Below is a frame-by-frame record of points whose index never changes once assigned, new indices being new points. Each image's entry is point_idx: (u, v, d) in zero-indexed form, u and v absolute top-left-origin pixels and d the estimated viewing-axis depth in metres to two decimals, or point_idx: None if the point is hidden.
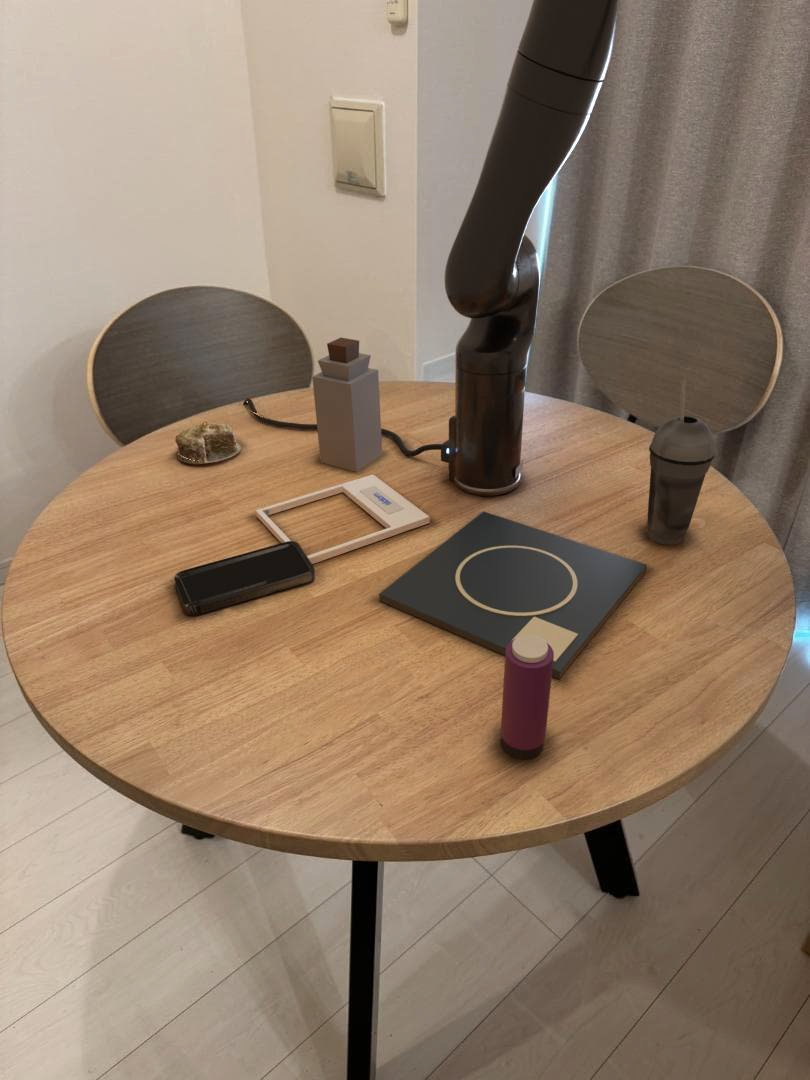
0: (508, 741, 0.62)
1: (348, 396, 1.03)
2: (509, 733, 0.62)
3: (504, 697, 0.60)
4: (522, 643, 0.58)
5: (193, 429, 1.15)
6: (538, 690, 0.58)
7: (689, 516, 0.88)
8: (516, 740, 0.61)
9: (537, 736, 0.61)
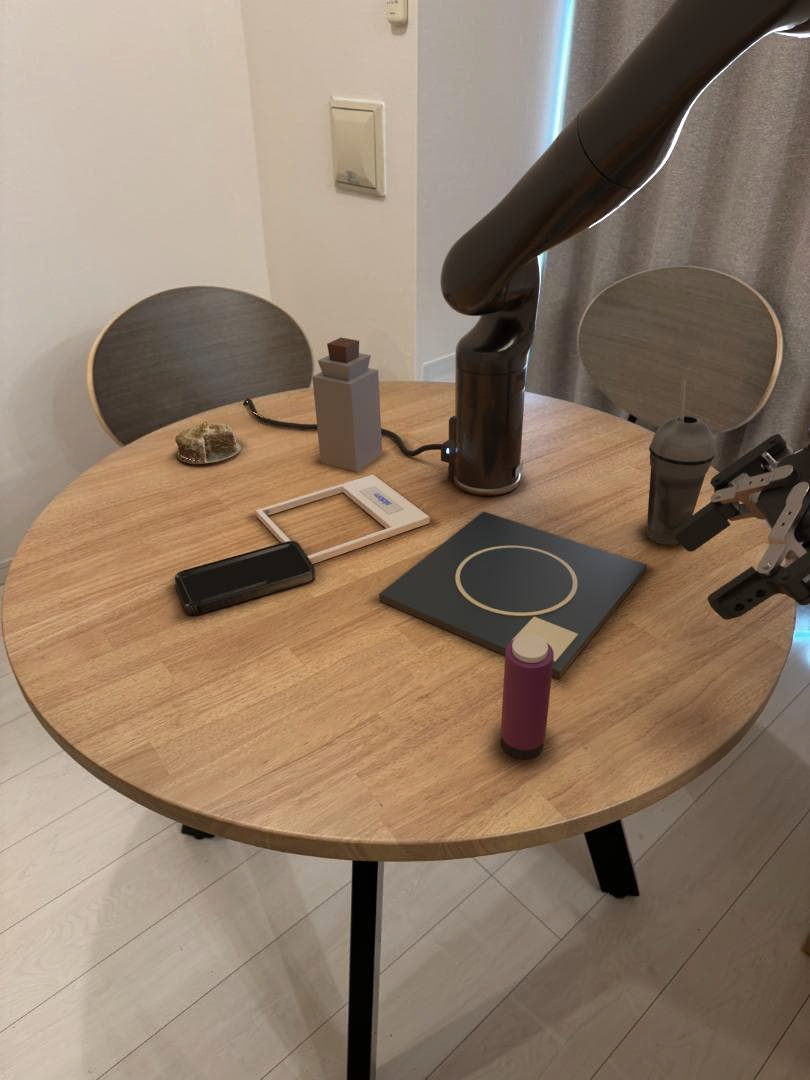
0: (508, 741, 0.62)
1: (348, 396, 1.03)
2: (509, 733, 0.62)
3: (504, 697, 0.60)
4: (522, 643, 0.58)
5: (193, 429, 1.15)
6: (538, 690, 0.58)
7: (689, 516, 0.88)
8: (516, 740, 0.61)
9: (537, 736, 0.61)
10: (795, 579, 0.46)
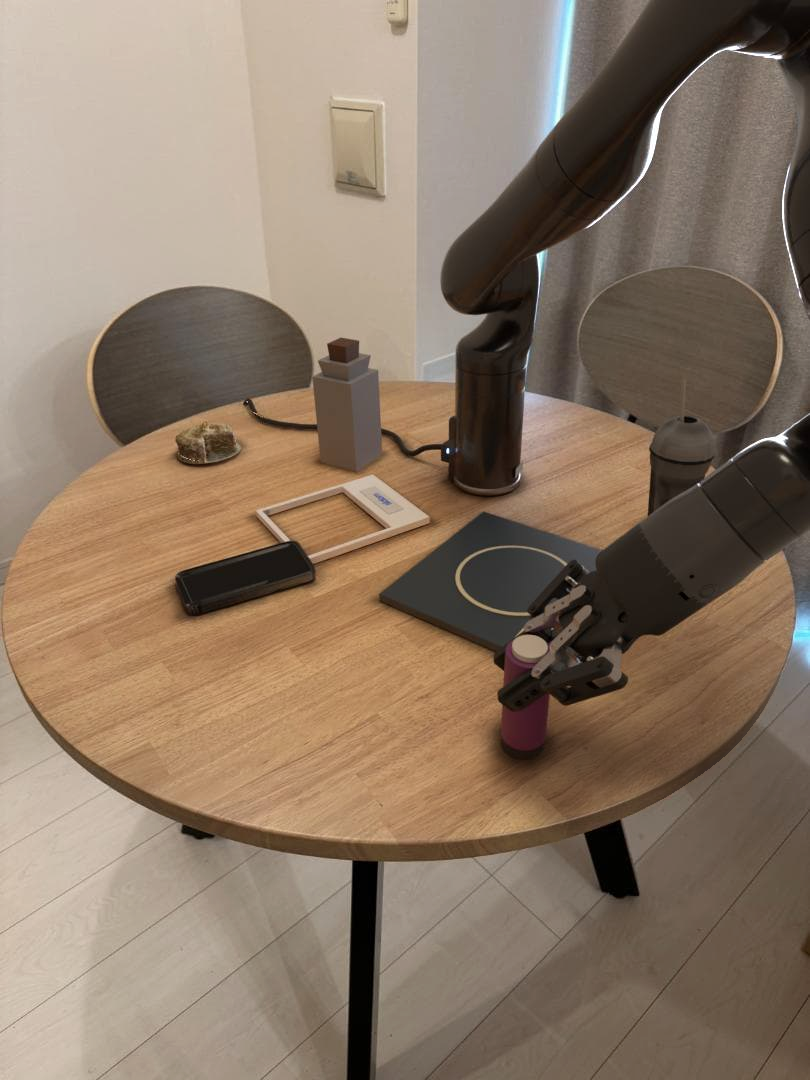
0: (508, 741, 0.62)
1: (348, 396, 1.03)
2: (509, 733, 0.61)
3: None
4: (522, 643, 0.58)
5: (193, 429, 1.15)
6: None
7: None
8: (516, 740, 0.61)
9: (537, 736, 0.61)
10: (550, 688, 0.54)
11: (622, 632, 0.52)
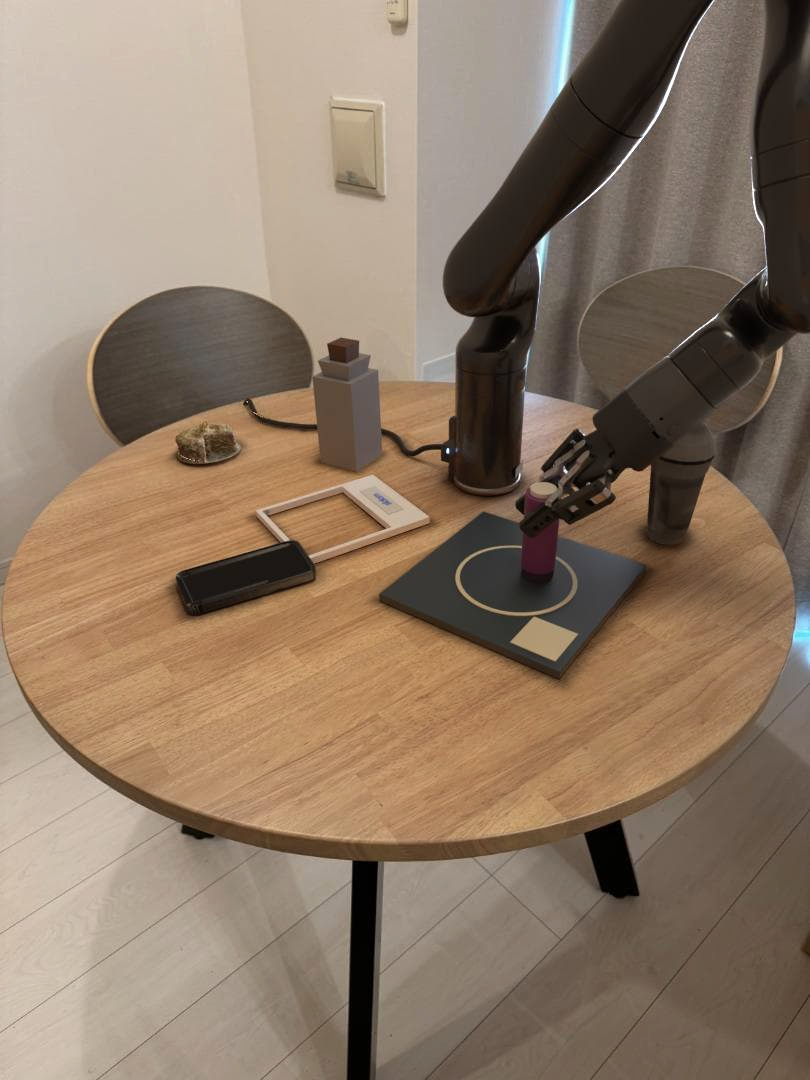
0: (527, 568, 0.82)
1: (348, 395, 1.03)
2: (528, 561, 0.81)
3: None
4: (537, 486, 0.78)
5: (193, 429, 1.15)
6: None
7: (689, 516, 0.88)
8: (533, 566, 0.81)
9: (549, 562, 0.81)
10: (559, 509, 0.73)
11: (612, 465, 0.72)
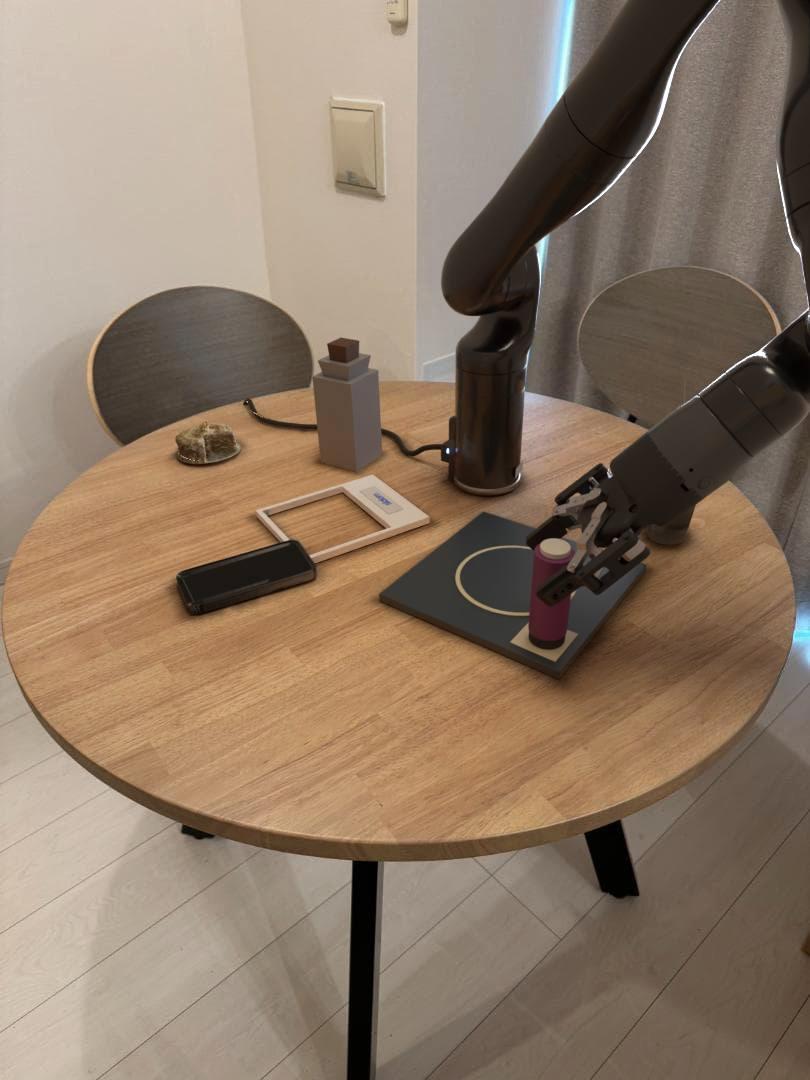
0: (535, 634, 0.72)
1: (348, 396, 1.03)
2: (536, 626, 0.72)
3: (532, 593, 0.71)
4: (548, 544, 0.68)
5: (193, 429, 1.15)
6: None
7: (689, 516, 0.88)
8: (542, 632, 0.71)
9: (560, 628, 0.71)
10: (587, 575, 0.61)
11: (632, 521, 0.62)
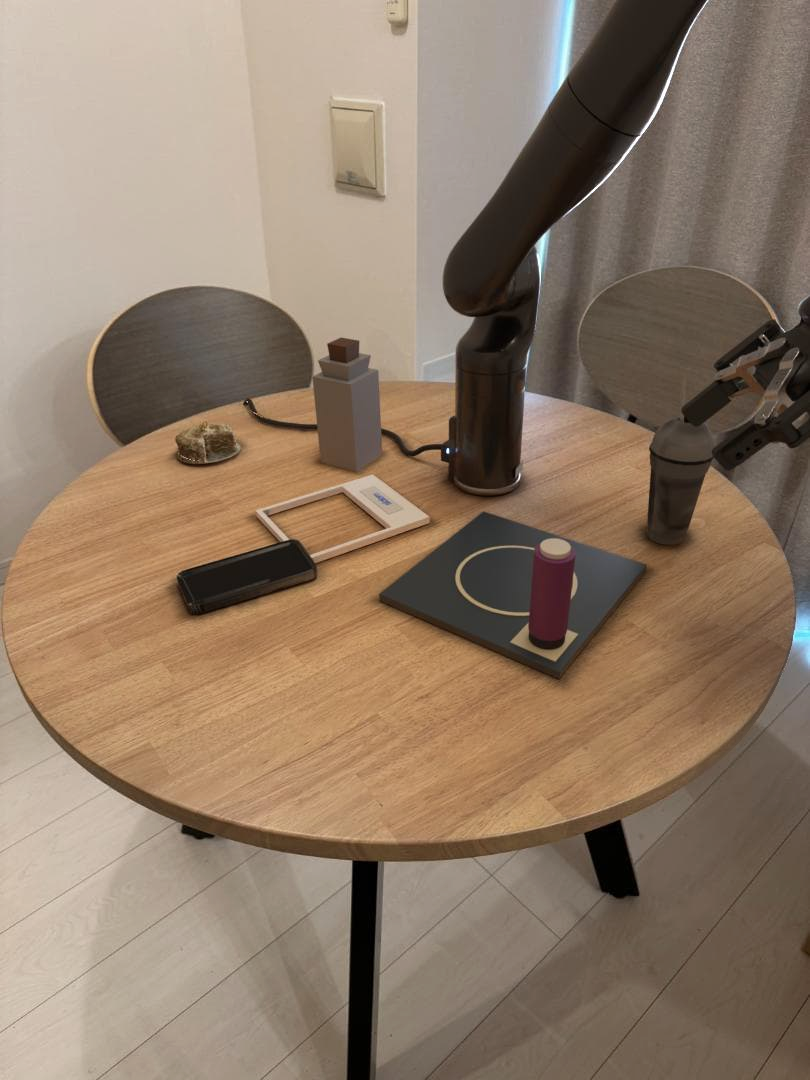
0: (535, 634, 0.72)
1: (348, 395, 1.03)
2: (536, 626, 0.72)
3: (532, 593, 0.71)
4: (548, 544, 0.68)
5: (193, 429, 1.15)
6: (562, 584, 0.68)
7: (689, 516, 0.88)
8: (542, 632, 0.71)
9: (560, 628, 0.71)
10: (786, 422, 0.54)
11: None
